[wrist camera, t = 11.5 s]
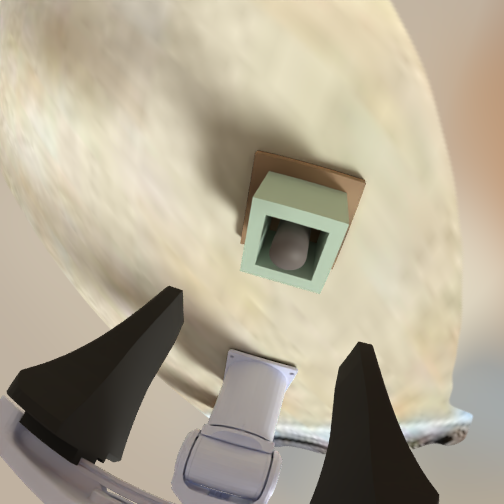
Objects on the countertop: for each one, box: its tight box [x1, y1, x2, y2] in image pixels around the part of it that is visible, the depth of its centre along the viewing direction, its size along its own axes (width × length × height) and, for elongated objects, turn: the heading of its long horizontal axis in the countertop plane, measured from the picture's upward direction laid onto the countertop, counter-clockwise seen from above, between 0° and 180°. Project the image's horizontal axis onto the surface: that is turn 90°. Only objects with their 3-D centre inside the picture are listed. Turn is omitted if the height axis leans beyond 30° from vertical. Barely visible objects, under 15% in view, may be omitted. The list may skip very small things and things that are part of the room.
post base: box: [240, 151, 366, 270], centre depth 17 cm, size 7×7×5 cm
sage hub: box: [240, 171, 349, 294], centre depth 17 cm, size 5×5×4 cm
